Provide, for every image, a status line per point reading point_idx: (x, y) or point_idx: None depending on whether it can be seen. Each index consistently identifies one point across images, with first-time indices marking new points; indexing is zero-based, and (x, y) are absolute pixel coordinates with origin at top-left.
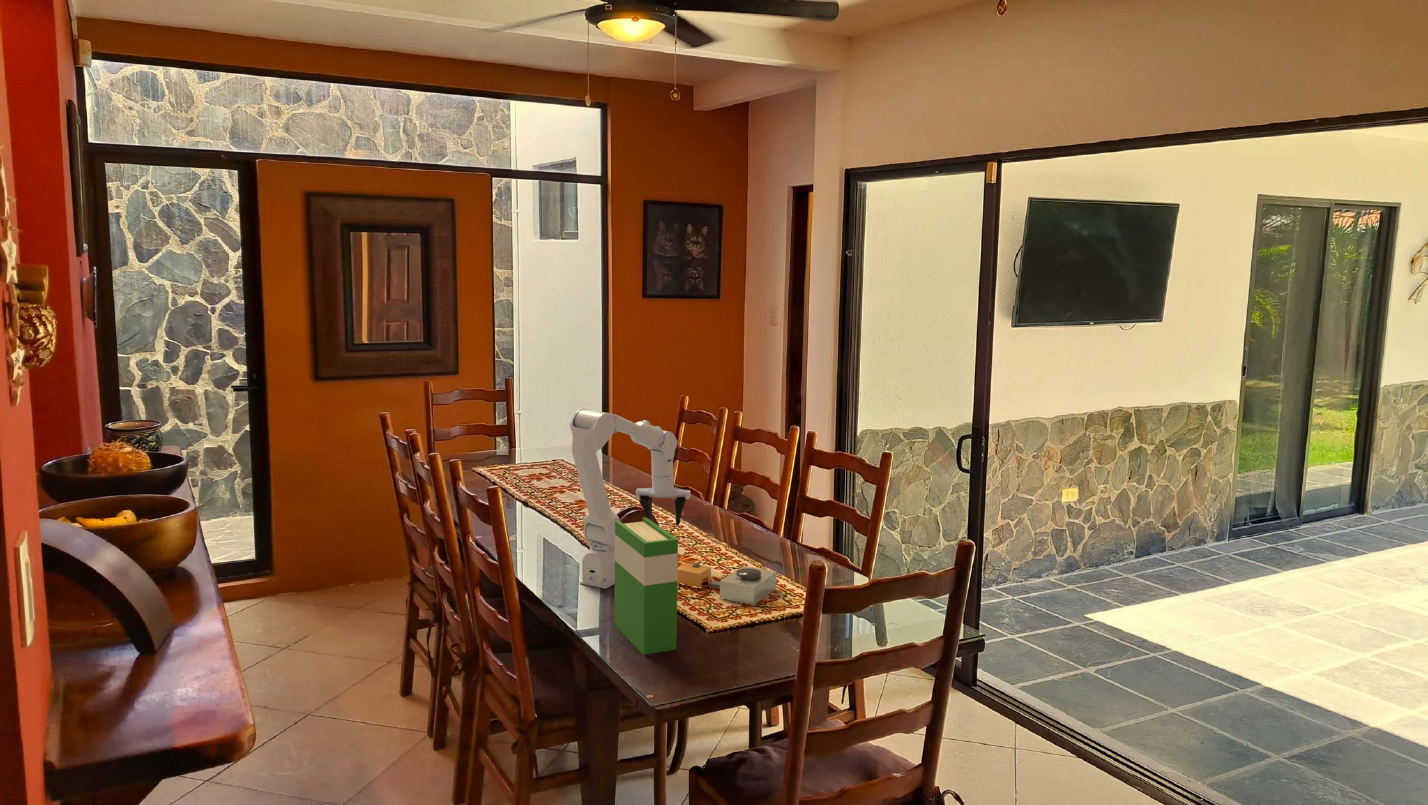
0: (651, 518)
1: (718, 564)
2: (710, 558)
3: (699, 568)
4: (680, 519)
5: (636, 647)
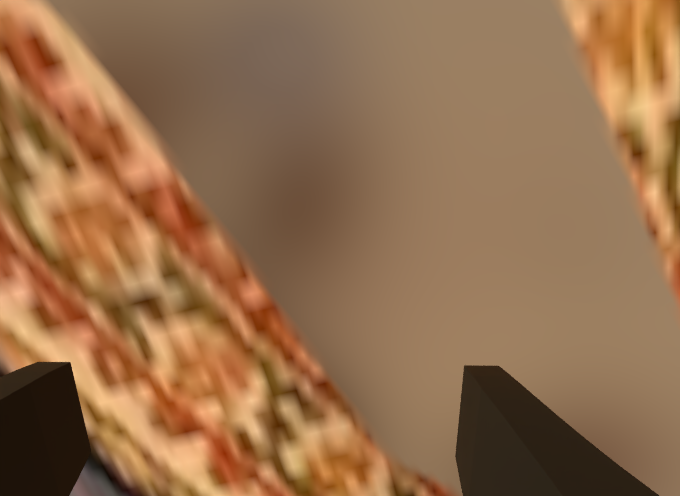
0: (38, 448)
1: (675, 231)
2: (617, 118)
3: None
4: (528, 393)
5: None
